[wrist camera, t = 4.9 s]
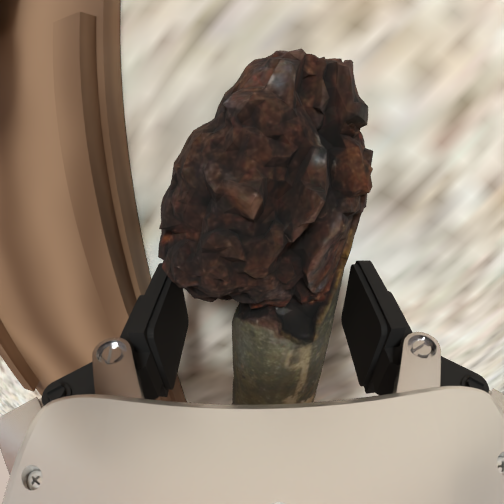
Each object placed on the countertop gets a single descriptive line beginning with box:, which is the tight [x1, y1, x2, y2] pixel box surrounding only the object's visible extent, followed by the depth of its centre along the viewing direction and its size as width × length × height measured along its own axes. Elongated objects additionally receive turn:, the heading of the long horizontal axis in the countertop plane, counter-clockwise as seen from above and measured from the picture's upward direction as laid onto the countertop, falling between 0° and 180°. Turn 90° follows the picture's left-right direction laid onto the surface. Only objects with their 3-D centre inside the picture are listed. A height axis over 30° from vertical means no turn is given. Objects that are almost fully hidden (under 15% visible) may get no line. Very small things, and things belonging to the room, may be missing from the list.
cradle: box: [0, 0, 187, 403], centre depth 13 cm, size 14×37×3 cm, turn 1°
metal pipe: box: [158, 49, 373, 405], centre depth 12 cm, size 18×7×6 cm, turn 179°
